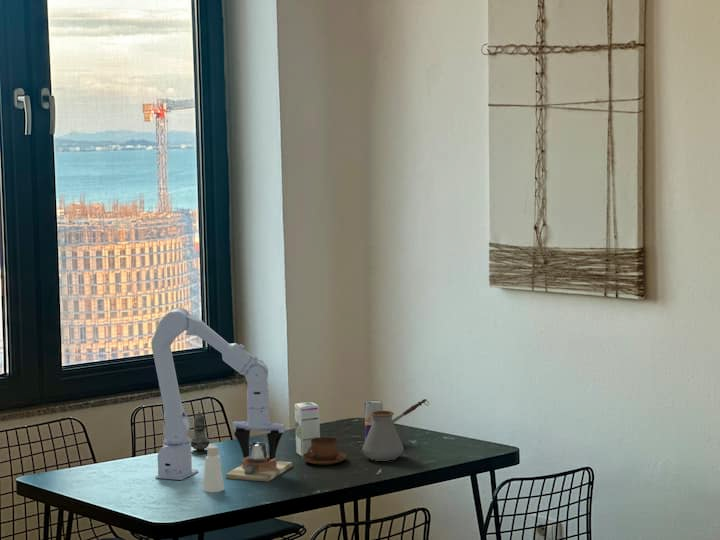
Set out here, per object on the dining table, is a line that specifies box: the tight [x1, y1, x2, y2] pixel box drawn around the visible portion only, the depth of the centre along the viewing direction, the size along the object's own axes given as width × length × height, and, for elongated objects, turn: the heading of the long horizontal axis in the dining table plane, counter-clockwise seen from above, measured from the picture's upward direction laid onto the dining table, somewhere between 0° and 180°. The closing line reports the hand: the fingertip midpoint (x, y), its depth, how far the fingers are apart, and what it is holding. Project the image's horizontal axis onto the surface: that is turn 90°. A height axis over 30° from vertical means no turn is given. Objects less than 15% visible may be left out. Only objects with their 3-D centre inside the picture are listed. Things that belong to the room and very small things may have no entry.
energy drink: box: [364, 399, 384, 441], centre depth 335 cm, size 5×5×12 cm
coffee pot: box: [362, 398, 430, 462], centre depth 317 cm, size 21×12×15 cm, turn 123°
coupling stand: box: [225, 454, 293, 482], centre depth 302 cm, size 16×12×3 cm
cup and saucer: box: [302, 436, 347, 466], centre depth 312 cm, size 12×12×6 cm
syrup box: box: [294, 401, 321, 458], centre depth 320 cm, size 6×6×14 cm
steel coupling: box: [250, 441, 268, 463], centre depth 301 cm, size 4×4×7 cm
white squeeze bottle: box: [202, 445, 225, 494], centre depth 285 cm, size 5×5×11 cm
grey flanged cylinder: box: [191, 411, 211, 456], centre depth 325 cm, size 6×6×12 cm
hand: (259, 457), depth 302 cm, fingers open, 7 cm apart
